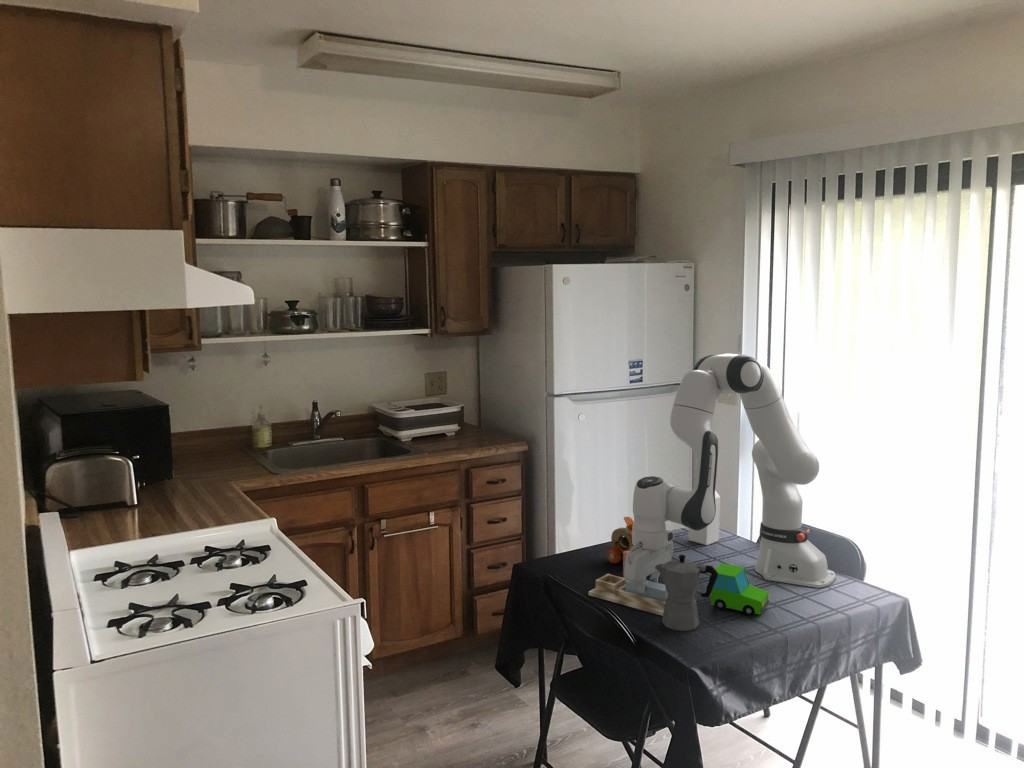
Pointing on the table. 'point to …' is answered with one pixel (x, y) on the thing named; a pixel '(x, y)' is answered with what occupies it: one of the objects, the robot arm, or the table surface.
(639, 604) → the jig
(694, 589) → the coffeepot
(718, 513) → the milk carton
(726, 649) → the table surface
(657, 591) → the blue slab with cube
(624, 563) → the tail peg
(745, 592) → the toy car
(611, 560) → the toy helicopter
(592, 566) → the table surface
